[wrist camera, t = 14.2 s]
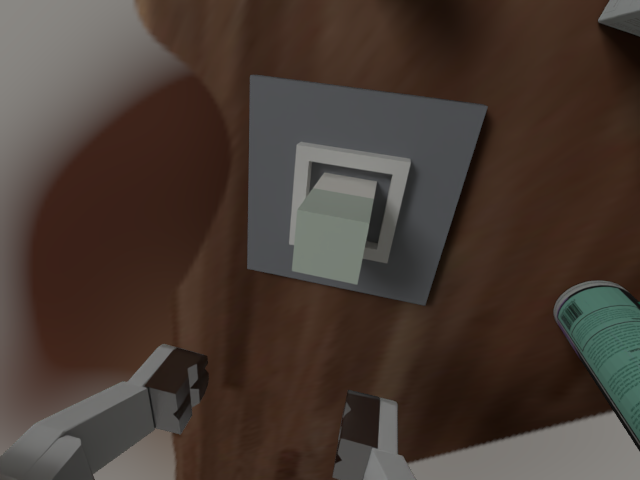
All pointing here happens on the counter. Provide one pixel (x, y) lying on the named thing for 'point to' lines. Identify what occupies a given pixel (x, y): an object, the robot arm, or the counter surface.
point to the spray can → (606, 343)
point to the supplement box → (622, 15)
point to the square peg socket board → (359, 175)
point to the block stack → (333, 228)
